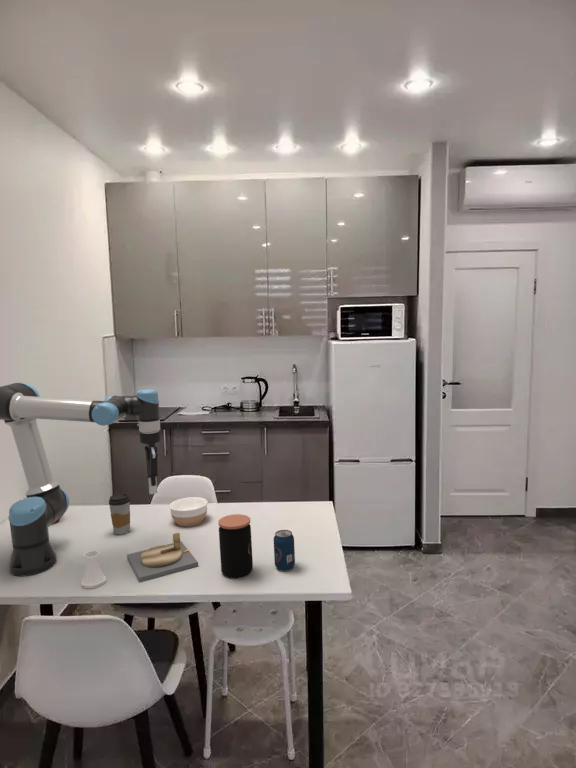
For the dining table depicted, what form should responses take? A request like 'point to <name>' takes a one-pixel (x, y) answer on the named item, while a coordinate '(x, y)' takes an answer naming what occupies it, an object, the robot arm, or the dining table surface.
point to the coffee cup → (120, 513)
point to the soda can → (284, 550)
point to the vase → (92, 571)
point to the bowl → (189, 510)
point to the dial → (163, 554)
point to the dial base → (154, 572)
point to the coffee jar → (235, 546)
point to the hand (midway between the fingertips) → (153, 493)
